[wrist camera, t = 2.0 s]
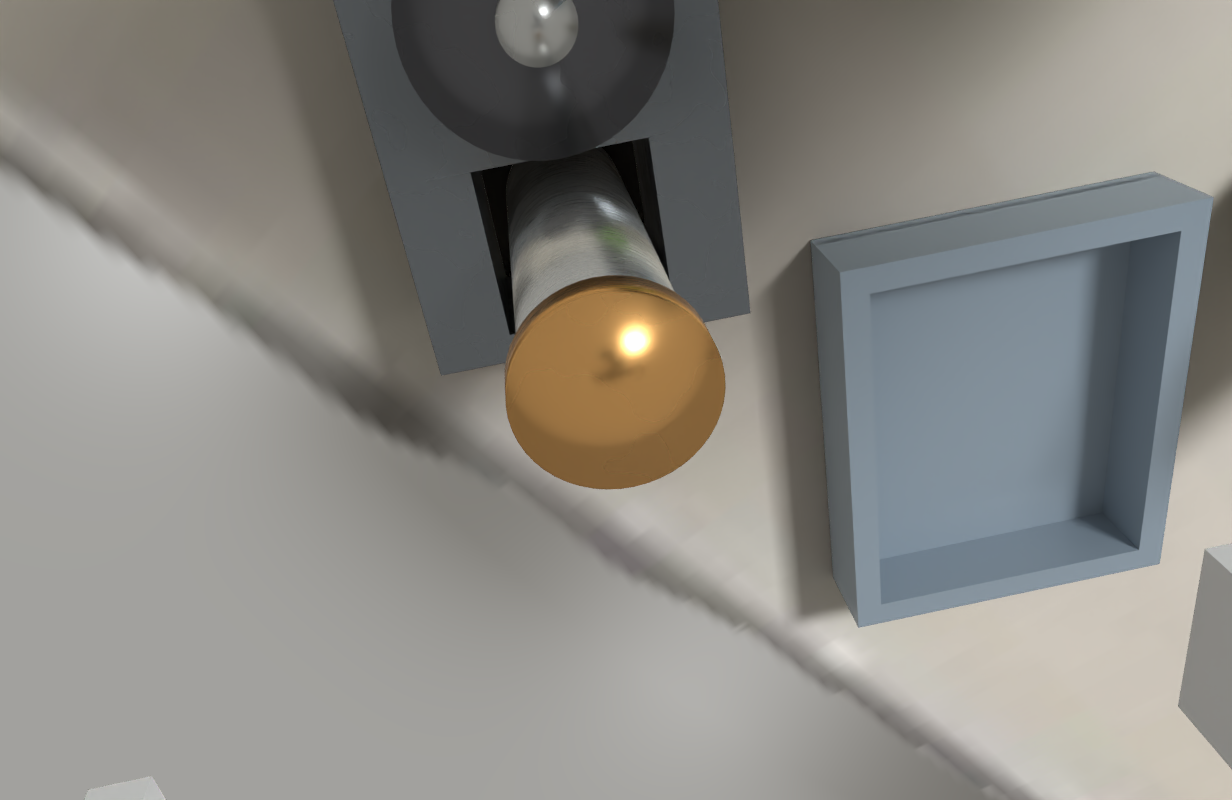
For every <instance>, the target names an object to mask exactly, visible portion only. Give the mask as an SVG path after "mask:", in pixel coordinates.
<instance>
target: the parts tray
mask: <svg viewBox="0 0 1232 800" xmlns="http://www.w3.org/2000/svg"><path fill="white" fill-rule="evenodd" d="M1213 198H1214V197H1212V196H1210V195H1207V194H1205V193H1203V192H1200V191H1198V190H1196V189H1193V188H1191V187H1189V186H1186V185H1184V184H1182V183H1179V182H1177V181H1175V180H1172V179H1170V178H1168V177H1165V176H1163V175H1161V174H1158V173H1156V172H1149V173H1144V174H1139V175H1134V176H1130V177H1125V178H1120V179H1115V180H1110V181H1105V182H1100V183H1095V184H1090V185H1085V186H1080V187H1075V188H1070V189H1065V190H1060V191H1055V192H1050V193H1045V194H1040V195H1035V196H1030V197H1025V198H1020V199H1015V200H1010V201H1005V202H1000V203H995V204H990V205H985V206H980V207H975V208H970V209H965V210H960V211H955V212H950V213H945V214H940V215H935V216H930V217H925V218H920V219H915V220H910V221H905V222H900V223H895V224H890V225H885V226H880V227H875V228H870V229H865V230H860V231H855V232H850V233H845V234H840V235H835V236H830V237H825V238H820V239H815V240H811V254H812V269H813V284H814V299H815V314H816V329H817V343H818V358H819V373H820V388H821V403H822V418H823V433H824V448H825V463H826V478H827V493H828V507H829V522H830V537H831V552H832V567H833V578H834V580H835V582H836V584H837V586H838V588H839V590H840V592H841V594H842V596H843V598H844V600H845V602H846V604H847V606H848V608H849V610H850V612H851V614H852V616H853V618H854V620H855V622H856V624H857V626H858V628H859V627H864V626H869V625H873V624H878V623H883V622H888V621H892V620H897V619H902V618H906V617H911V616H916V615H921V614H925V613H930V612H935V611H939V610H944V609H949V608H954V607H958V606H963V605H968V604H972V603H977V602H982V601H987V600H991V599H996V598H1001V597H1005V596H1010V595H1015V594H1020V593H1024V592H1029V591H1034V590H1038V589H1043V588H1048V587H1053V586H1057V585H1062V584H1067V583H1071V582H1076V581H1081V580H1086V579H1090V578H1095V577H1100V576H1104V575H1109V574H1114V573H1119V572H1123V571H1128V570H1133V569H1137V568H1142V567H1147V566H1152V565H1156V564H1160V558H1161V551H1162V544H1163V537H1164V531H1165V524H1166V517H1167V510H1168V503H1169V497H1170V490H1171V483H1172V476H1173V469H1174V463H1175V456H1176V449H1177V442H1178V435H1179V429H1180V422H1181V415H1182V408H1183V401H1184V395H1185V388H1186V381H1187V374H1188V367H1189V361H1190V354H1191V347H1192V340H1193V333H1194V327H1195V320H1196V313H1197V306H1198V299H1199V293H1200V286H1201V279H1202V272H1203V265H1204V259H1205V252H1206V245H1207V238H1208V232H1209V225H1210V218H1211V211H1212V204H1213Z"/></svg>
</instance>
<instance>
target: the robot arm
mask: <svg viewBox="0 0 1232 800" xmlns="http://www.w3.org/2000/svg"><path fill="white" fill-rule="evenodd" d="M1178 707H1179V708H1180V709H1181V710H1182V711H1183V713H1184V714H1185V715H1186V716H1187V717H1188V718H1189V720H1190V721H1191V722H1192V723H1193V724H1194V725H1195V727H1196V728H1197V729H1198V730H1199V731H1200V733H1201V734H1202V735H1203V736H1204V737H1205V738H1206V740H1207V741H1208V742H1209V743H1210V744H1211V745H1212V747H1213V748H1214V749H1215V750H1216V751H1217V753H1218V754H1219V755H1220V756H1221V757H1222V758H1223V760H1224V761H1225V762H1226V763H1227V764H1228V765H1229V767H1230V768H1231V769H1232V543H1230V544H1226V545H1221V546H1216V547H1212V548H1207V549H1205V551H1204V557H1203V563H1202V568H1201V574H1200V580H1199V586H1198V592H1197V598H1196V604H1195V609H1194V615H1193V621H1192V627H1191V633H1190V639H1189V645H1188V650H1187V656H1186V662H1185V668H1184V674H1183V680H1182V686H1181V691H1180V697H1179V703H1178ZM84 800H166V799H165V797H164V795H163V794H162V792H161V790H160V789H159V787H158V785H157V784H156V782H155V780H154V779H153V777H152V776H149V777H144V778H139V779H135V780H130V781H126V782H121V783H116V784H111V785H107V786H102V787H98V788H93V789H89V790H88V791H87V794H86V796H85V798H84Z"/></svg>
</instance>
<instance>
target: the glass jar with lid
mask: <svg viewBox="0 0 1232 800" xmlns="http://www.w3.org/2000/svg"><path fill="white" fill-rule="evenodd" d="M506 203H507V218H508V232H509V247H510V261H511V275H512V290H513V304H514V318H515V335H514V337H513V340H512V342H511V344H510V347H509V351H508V354H507V358H506V365H505V396H506V409H507V415H508V420H509V423H510V426H511V429H512V431H513V433H514V435H515V437H516V439H517V441H518V443H519V444H520V446H521V447H522V448H523V450H524V451H525V453H526V454H527V455H528V456H529V457H530V458H531V459H532V460H533V461H534V462H535V463H536V464H538V465H539V466H540V467H541V468H543V469H544V470H545V471H547V472H549V473H550V474H552V475H553V476H555V477H557V478H560V479H562V480H564V481H566V482H569V483H572V484H575V485H579V486H583V487H589V488H595V489H622V488H629V487H635V486H638V485H642V484H646V483H649V482H651V481H654V480H657V479H659V478H661V477H663V476H665V475H667V474H669V473H671V472H673V471H674V470H676V469H677V468H679V467H680V466H682V465H683V464H684V463H686V462H687V461H688V460H689V459H690V458H691V457H693V456H694V455H695V454H696V453H697V451H698V450H699V449H700V448H701V447H702V446H703V445H704V443H705V442H706V441H707V439H708V438H709V437H710V435H711V433H712V431H713V430H714V428H715V426H716V424H717V422H718V419H719V417H720V414H721V411H722V407H723V403H724V397H725V373H724V368H723V363H722V360H721V357H720V354H719V351H718V349H717V347H716V345H715V343H714V341H713V339H712V337H711V335H710V333H709V331H708V329H707V327H706V326H705V324H704V322H703V320H702V318H701V317H700V316H699V314H698V313H697V312H696V310H695V309H694V308H693V307H692V306H691V305H690V304H689V303H688V302H687V301H686V300H685V299H684V298H682V297H681V296H680V295H678V294H677V293H676V292H674V289H673V287H672V285H671V283H670V281H669V279H668V277H667V274H666V272H665V270H664V268H663V266H662V264H661V262H660V259H659V257H658V255H657V253H656V251H655V249H654V247H653V245H652V242H651V240H650V238H649V236H648V234H647V232H646V230H645V227H644V225H643V223H642V221H641V219H640V217H639V215H638V212H637V210H636V208H635V206H634V204H633V202H632V200H631V197H630V195H629V193H628V191H627V189H626V187H625V185H624V182H623V180H622V178H621V176H620V174H619V172H618V170H617V167H616V166H615V164H614V162H613V160H612V159H611V158H610V156H609V155H608V154H607V153H606V152H605V151H604V150H603V149H602V148H601V147H597V148H593V149H590V150H588V151H585V152H583V153H581V154H578V155H574V156H570V157H566V158H563V159H555V160H548V161H526V162H521V163H516V164H513V166H512V167H511V170H510V172H509V175H508V179H507V184H506Z"/></svg>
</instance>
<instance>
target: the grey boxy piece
mask: <svg viewBox="0 0 1232 800" xmlns="http://www.w3.org/2000/svg"><path fill="white" fill-rule="evenodd" d="M333 1H334V5H335V8H336V12H337V15H338V18H339V22H340V25H341V29H342V32H343V36H344V39H345V43H346V46H347V50H348V53H349V57H350V60H351V64H352V67H353V71H354V74H355V78H356V81H357V85H358V88H359V92H360V95H361V98H362V102H363V105H364V109H365V112H366V116H367V119H368V123H369V126H370V130H371V133H372V137H373V140H374V144H375V147H376V151H377V154H378V158H379V161H380V165H381V168H382V171H383V175H384V178H385V182H386V185H387V189H388V192H389V196H390V199H391V203H392V206H393V210H394V213H395V217H396V220H397V224H398V227H399V231H400V234H401V238H402V241H403V244H404V248H405V251H406V255H407V258H408V262H409V265H410V269H411V272H412V276H413V279H414V283H415V286H416V290H417V293H418V297H419V300H420V304H421V307H422V311H423V314H424V318H425V321H426V324H427V328H428V331H429V335H430V338H431V342H432V345H433V349H434V352H435V356H436V359H437V363H438V366H439V370H440V373H441V375H446V374H451V373H456V372H461V371H466V370H471V369H476V368H481V367H486V366H491V365H496V364H501V363H506V358H507V354H508V351H509V347H510V344H511V342H512V340H513V337H514V335H515V318H514V304H513V290H512V276H511V277H506V273H505V269H504V265H503V260H502V256H501V252H500V248H499V243H498V239H497V235H496V231H495V227H494V222H493V218H492V214H491V210H490V205H489V201H488V197H487V193H486V188H485V184H484V180H483V176H482V171H481V170H485V169H490V168H495V167H501V166H506V165H511V164H516V163H521V162H526V161H548V160H555V159H563V158H566V157H570V156H574V155H578V154H581V153H583V152H585V151H588V150H590V149H593V148H597V147H602V146H607V145H612V144H618V143H623V142H628V141H632V143H633V150H634V156H635V163H636V169H637V176H638V182H639V188H640V195H641V201H642V208H643V214H644V221H645V227H646V232H647V234H648V236H649V238H650V240H651V242H652V245H653V247H654V249H655V251H656V253H657V255H658V257H659V259H660V262H661V264H662V266H663V268H664V270H665V272H666V274H667V277H668V279H669V281H670V283H671V285H672V287H673V289H674V292H676V293H677V294H678V295H680V296H681V297H682V298H684V299H685V300H686V301H687V302H688V303H689V304H690V305H691V306H692V307H693V308H694V309H695V310H696V312H697V313H698V314H699V316H700V317H701V318H702V320H703V322H708V321H713V320H718V319H723V318H728V317H733V316H738V315H743V314H748V313H750V305H749V295H748V285H747V276H746V266H745V256H744V247H743V237H742V228H741V218H740V208H739V199H738V189H737V179H736V170H735V160H734V150H733V141H732V131H731V121H730V112H729V102H728V93H727V83H726V73H725V64H724V54H723V44H722V35H721V25H720V15H719V6H718V0H333Z"/></svg>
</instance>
